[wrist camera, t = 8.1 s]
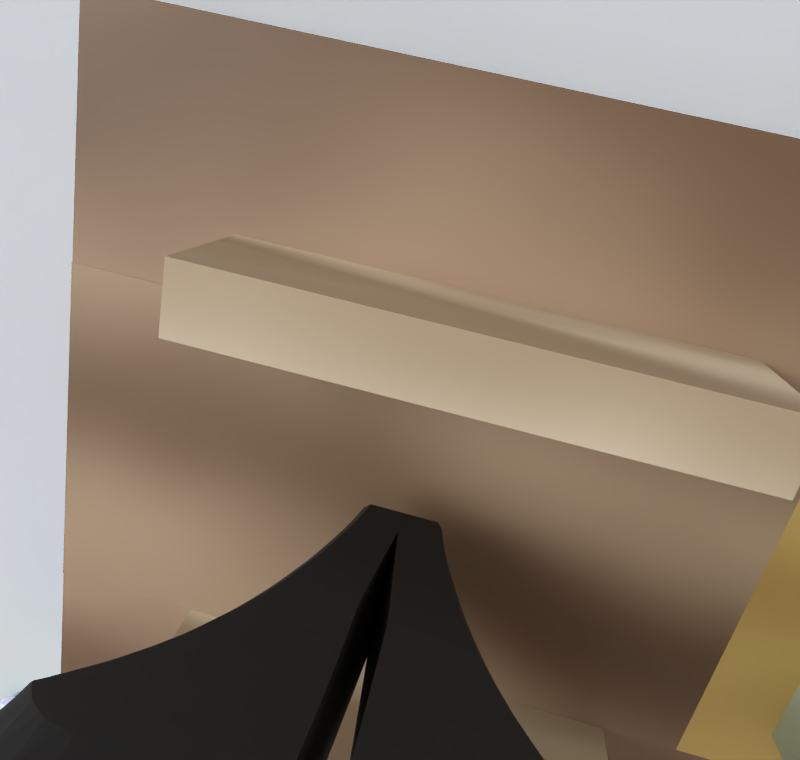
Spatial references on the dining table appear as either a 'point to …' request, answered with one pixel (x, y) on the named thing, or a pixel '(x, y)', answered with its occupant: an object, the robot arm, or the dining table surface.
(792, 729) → the block
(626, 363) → the deck
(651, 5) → the dining table surface
